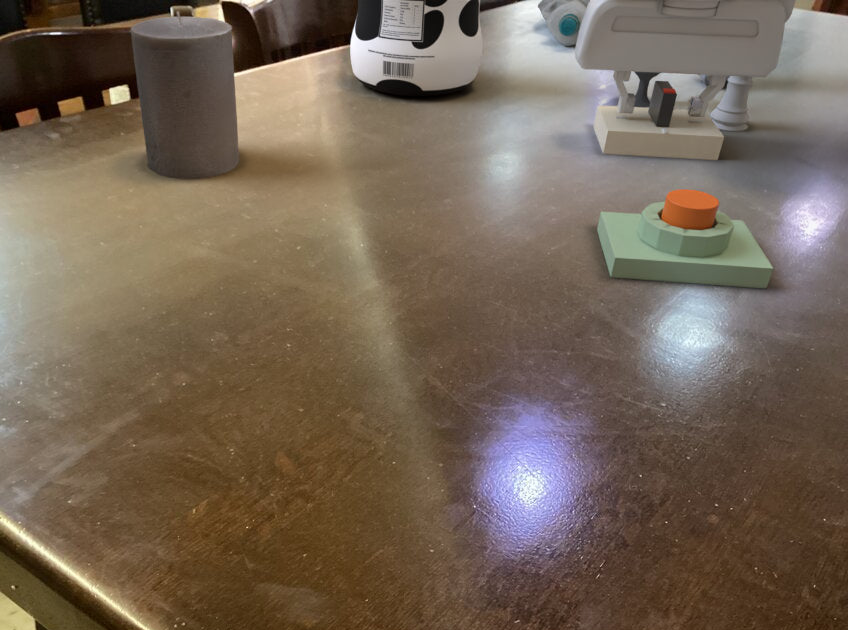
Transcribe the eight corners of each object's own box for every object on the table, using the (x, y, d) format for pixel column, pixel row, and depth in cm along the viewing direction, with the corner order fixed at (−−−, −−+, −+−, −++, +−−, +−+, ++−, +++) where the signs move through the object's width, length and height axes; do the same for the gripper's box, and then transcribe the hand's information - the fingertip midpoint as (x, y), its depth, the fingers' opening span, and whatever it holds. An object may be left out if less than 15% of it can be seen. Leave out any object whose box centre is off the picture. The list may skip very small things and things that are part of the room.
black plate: (647, 112, 92) (655, 78, 90) (660, 113, 92) (668, 78, 90) (655, 126, 88) (664, 91, 86) (669, 127, 88) (677, 91, 86)
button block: (735, 243, 72) (749, 200, 69) (764, 293, 64) (781, 247, 62) (596, 234, 73) (605, 191, 71) (609, 282, 66) (619, 236, 63)
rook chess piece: (698, 125, 98) (717, 55, 93) (726, 120, 99) (746, 52, 95) (726, 136, 95) (747, 65, 90) (755, 132, 96) (777, 61, 91)
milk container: (445, 66, 119) (457, -75, 108) (501, 99, 106) (520, -57, 95) (332, 75, 114) (333, -71, 104) (376, 111, 101) (382, -52, 91)
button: (706, 213, 68) (712, 190, 67) (717, 234, 65) (725, 210, 63) (656, 210, 68) (662, 187, 67) (665, 231, 65) (672, 206, 64)
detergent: (540, 15, 147) (516, 43, 127) (550, -29, 143) (527, -7, 123) (614, 28, 144) (601, 59, 124) (626, -16, 140) (615, 8, 120)
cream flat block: (697, 136, 95) (705, 108, 93) (716, 164, 87) (725, 135, 85) (592, 130, 96) (597, 103, 94) (602, 158, 89) (608, 129, 87)
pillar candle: (129, 175, 83) (106, 17, 74) (176, 144, 91) (161, -2, 82) (215, 188, 80) (201, 26, 72) (256, 156, 88) (248, 6, 79)
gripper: (792, -28, 83) (751, 109, 91) (586, -34, 85) (564, 100, 93) (813, -16, 78) (767, 128, 86) (593, -24, 80) (569, 117, 88)
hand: (659, 113), depth 89 cm, fingers open, 6 cm apart
